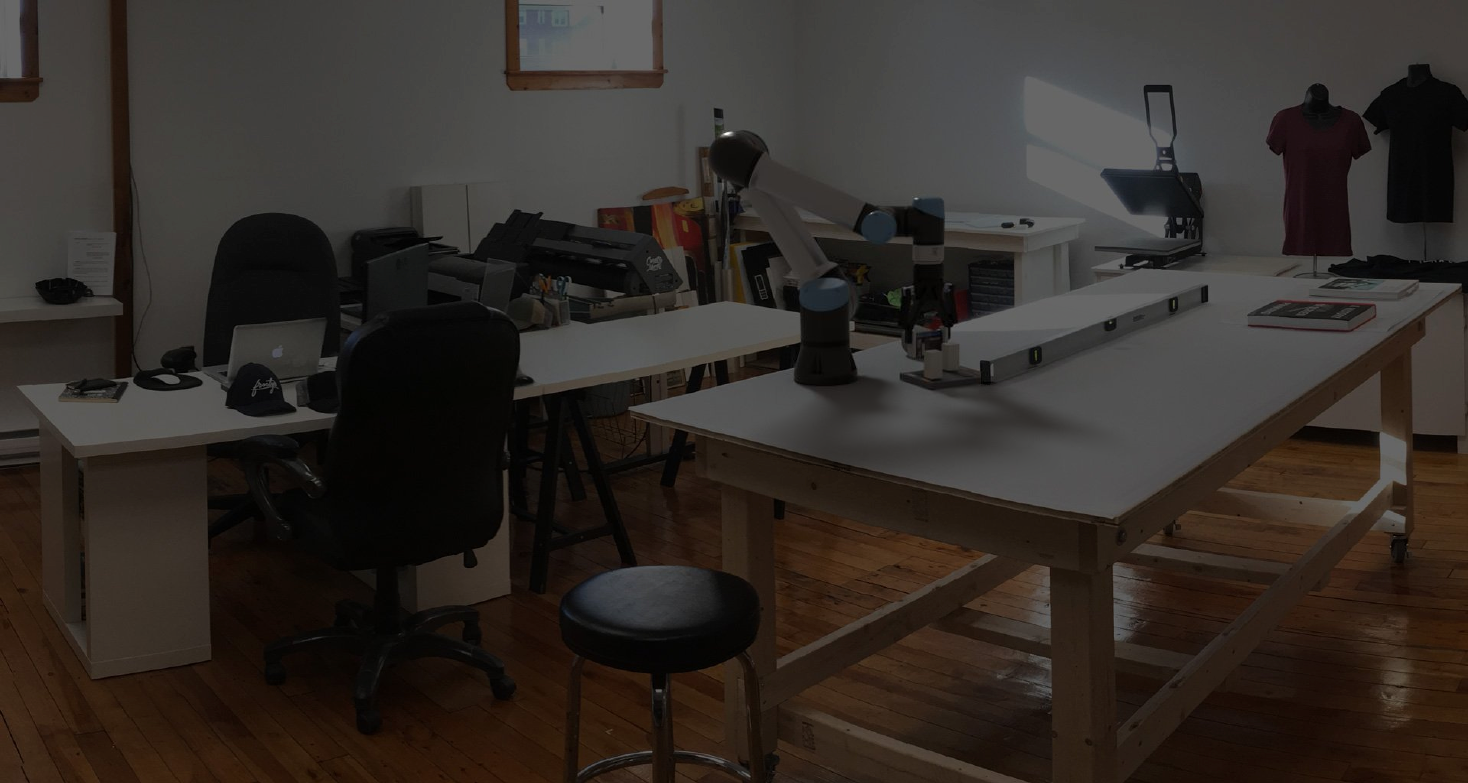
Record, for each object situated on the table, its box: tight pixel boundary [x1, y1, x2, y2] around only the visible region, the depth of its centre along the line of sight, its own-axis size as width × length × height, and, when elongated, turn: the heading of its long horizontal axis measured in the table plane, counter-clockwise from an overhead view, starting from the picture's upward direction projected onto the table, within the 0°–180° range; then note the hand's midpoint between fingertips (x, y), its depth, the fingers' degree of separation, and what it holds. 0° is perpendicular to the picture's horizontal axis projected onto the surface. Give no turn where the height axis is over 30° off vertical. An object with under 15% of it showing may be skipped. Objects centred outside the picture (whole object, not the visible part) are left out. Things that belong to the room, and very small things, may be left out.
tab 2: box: [942, 341, 960, 371], centre depth 304 cm, size 3×3×6 cm
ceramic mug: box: [900, 324, 933, 353], centre depth 332 cm, size 11×8×8 cm
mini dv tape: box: [915, 329, 943, 360], centre depth 313 cm, size 8×2×6 cm, turn 122°
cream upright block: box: [923, 350, 942, 379], centre depth 295 cm, size 3×3×6 cm
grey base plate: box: [899, 365, 982, 391], centre depth 301 cm, size 17×14×2 cm
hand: (927, 354), depth 313 cm, fingers closed on mini dv tape, 8 cm apart
